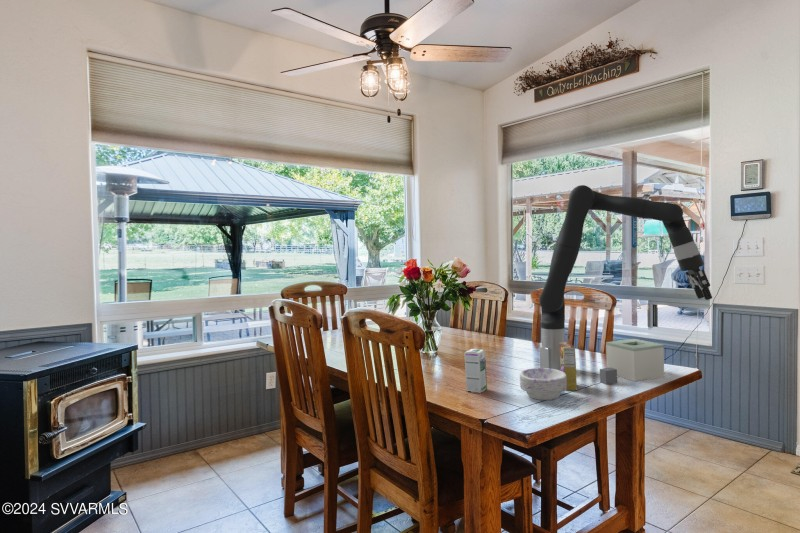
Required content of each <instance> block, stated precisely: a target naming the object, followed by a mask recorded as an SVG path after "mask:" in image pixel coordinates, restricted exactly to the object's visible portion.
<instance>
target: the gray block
mask: <svg viewBox="0 0 800 533" xmlns="http://www.w3.org/2000/svg"><path fill="white" fill-rule="evenodd" d="M599 382H600V383H601V384H603V385H612V384H618V376H617V369H614V368H607V367H605V368H599Z"/></svg>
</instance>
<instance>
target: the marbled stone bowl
mask: <svg viewBox="0 0 800 533" xmlns="http://www.w3.org/2000/svg"><path fill="white" fill-rule="evenodd" d="M519 388H520V389H521V390H522V391H525V393H526V394H527V396H528V397H530V398H532V399H533V400H538V401H551V400H552V401H553V400H555V399H558V398H559V397H560V396H561V394H562V393H563V392H565V391H567V390H566V389H567V378H566V374H565V373H564V372H562V371H560V370H556V369H550V368H540V367H533V368H527V369H523V370H522V371H521V372H519Z"/></svg>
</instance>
